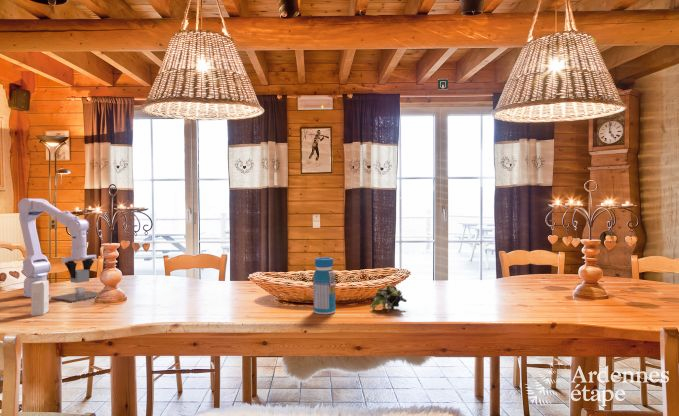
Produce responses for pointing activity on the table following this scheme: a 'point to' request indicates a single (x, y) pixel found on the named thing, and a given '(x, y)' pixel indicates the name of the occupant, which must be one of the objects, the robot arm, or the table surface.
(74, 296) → the dark grey flat block
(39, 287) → the skincare box
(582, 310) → the table surface
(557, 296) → the table surface
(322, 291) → the beverage bottle
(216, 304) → the table surface
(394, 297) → the green leafy plant
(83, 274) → the grey cube
